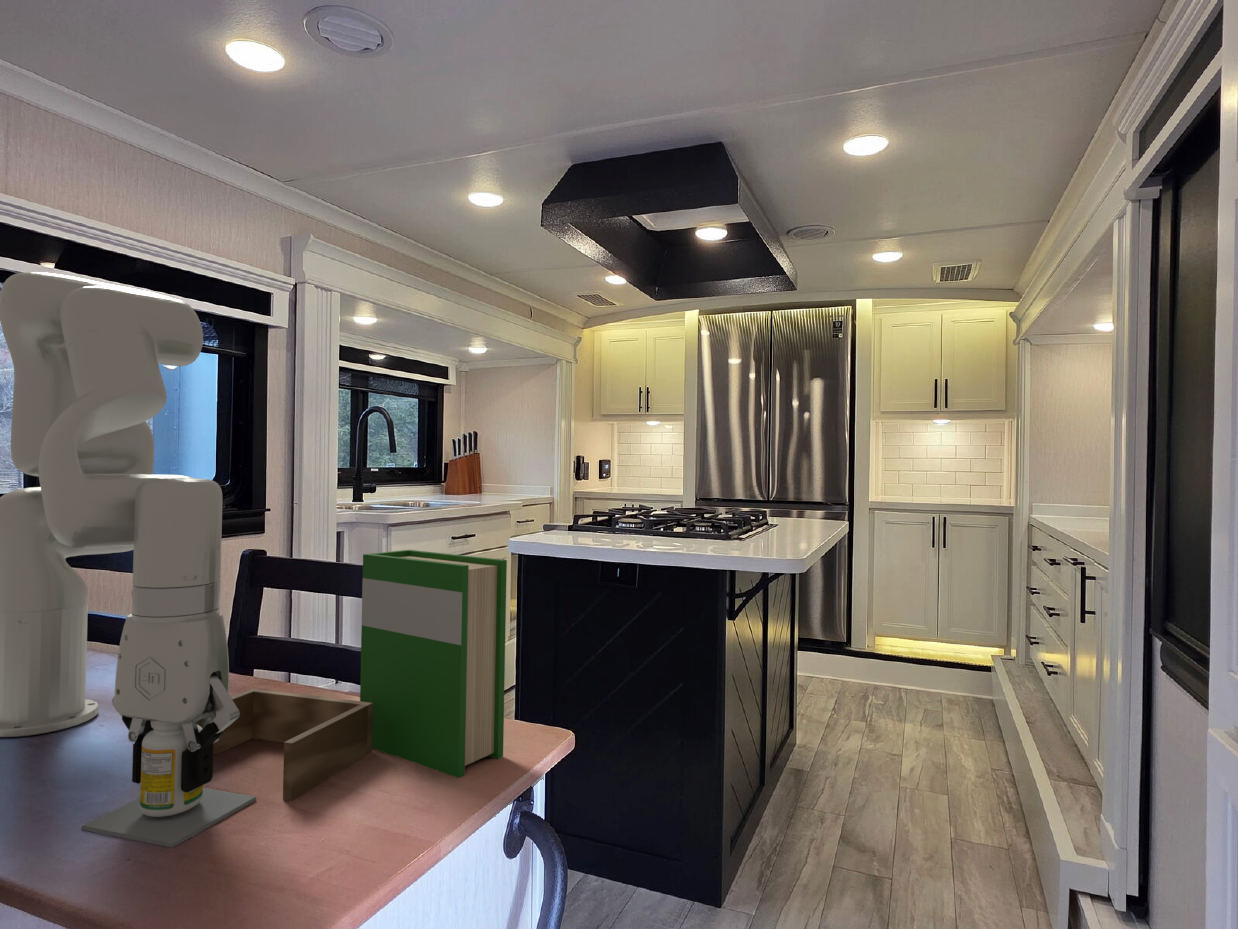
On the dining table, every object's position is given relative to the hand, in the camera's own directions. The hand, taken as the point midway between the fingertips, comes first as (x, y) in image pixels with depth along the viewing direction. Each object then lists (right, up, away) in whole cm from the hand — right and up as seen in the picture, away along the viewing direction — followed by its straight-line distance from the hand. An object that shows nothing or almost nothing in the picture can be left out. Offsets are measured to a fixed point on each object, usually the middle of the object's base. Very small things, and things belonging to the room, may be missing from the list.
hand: (172, 780), depth 72 cm
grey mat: (0, -3, 0) cm, 3 cm away
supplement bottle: (0, -3, 0) cm, 3 cm away
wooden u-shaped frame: (+4, -4, +12) cm, 13 cm away
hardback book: (+21, -4, +18) cm, 28 cm away
